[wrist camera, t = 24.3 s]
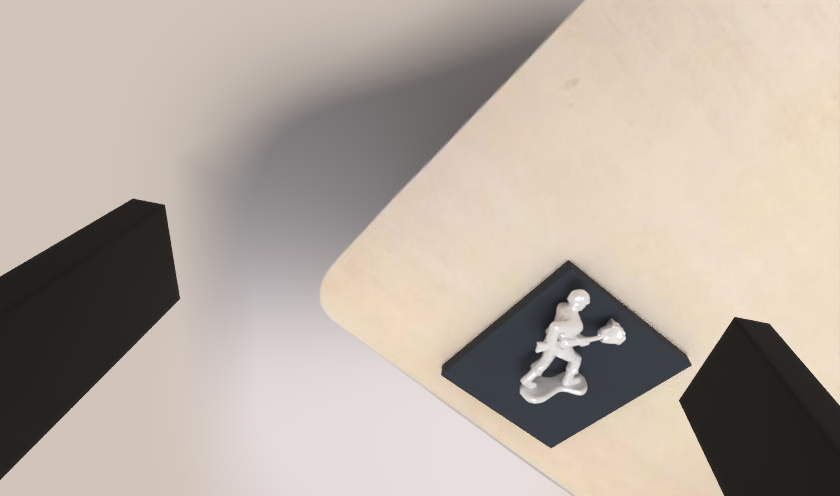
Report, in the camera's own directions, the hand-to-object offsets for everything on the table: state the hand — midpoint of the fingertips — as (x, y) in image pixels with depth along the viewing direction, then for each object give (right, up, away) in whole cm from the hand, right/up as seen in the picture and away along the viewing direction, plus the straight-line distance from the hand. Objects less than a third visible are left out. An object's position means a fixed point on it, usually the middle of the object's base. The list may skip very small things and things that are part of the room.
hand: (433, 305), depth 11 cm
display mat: (+15, -11, +38) cm, 42 cm away
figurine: (+14, -13, +35) cm, 40 cm away
